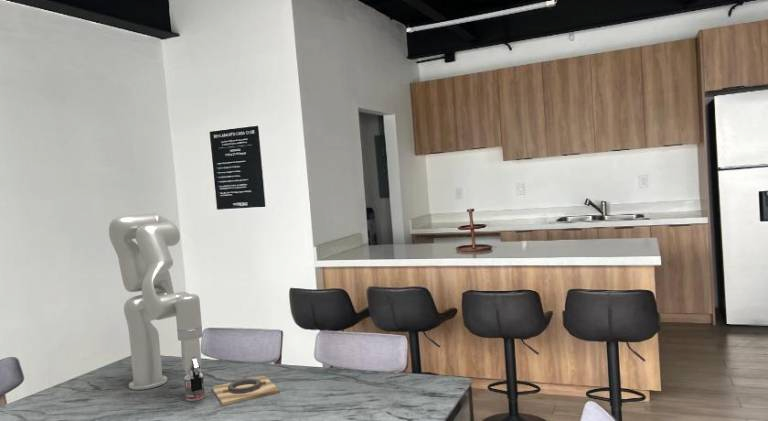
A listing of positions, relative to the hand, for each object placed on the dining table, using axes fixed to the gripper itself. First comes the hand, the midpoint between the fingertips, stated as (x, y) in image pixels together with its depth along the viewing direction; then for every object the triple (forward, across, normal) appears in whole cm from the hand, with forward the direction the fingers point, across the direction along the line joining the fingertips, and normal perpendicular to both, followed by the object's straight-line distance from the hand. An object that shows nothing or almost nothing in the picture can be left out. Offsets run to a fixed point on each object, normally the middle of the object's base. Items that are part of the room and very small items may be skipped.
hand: (194, 386), depth 184 cm
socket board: (+4, +4, +15) cm, 16 cm away
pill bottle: (+4, 0, 0) cm, 4 cm away
